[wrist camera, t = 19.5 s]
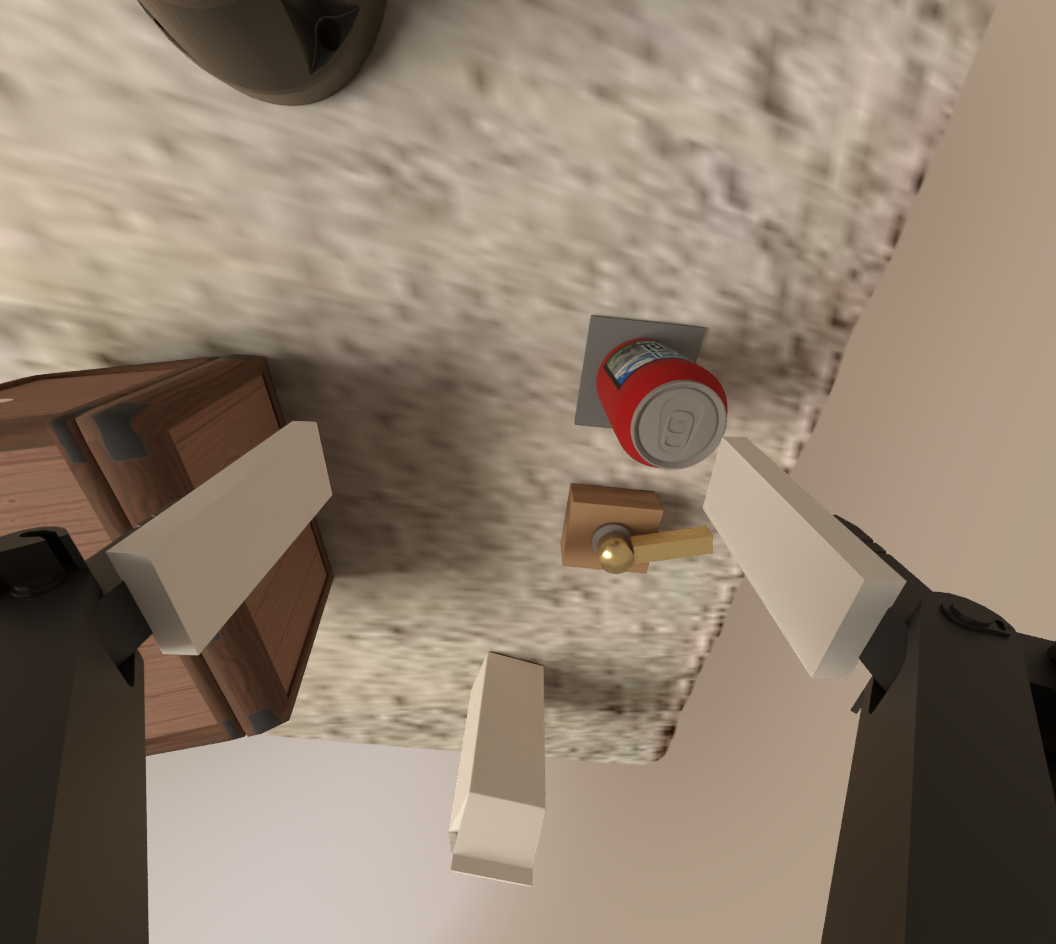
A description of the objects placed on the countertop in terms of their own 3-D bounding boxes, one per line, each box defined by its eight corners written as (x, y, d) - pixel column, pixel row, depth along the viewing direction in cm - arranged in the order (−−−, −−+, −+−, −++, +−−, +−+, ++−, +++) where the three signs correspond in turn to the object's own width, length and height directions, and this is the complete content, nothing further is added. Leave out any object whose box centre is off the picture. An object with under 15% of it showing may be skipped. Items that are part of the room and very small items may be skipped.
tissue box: (341, 557, 49) (273, 781, 27) (61, 602, 44) (-289, 916, 22) (278, 345, 38) (85, 436, 17) (-99, 373, 33) (-1047, 552, 12)
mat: (590, 315, 33) (591, 316, 33) (703, 327, 33) (704, 328, 33) (574, 423, 37) (574, 424, 37) (674, 433, 37) (676, 434, 37)
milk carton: (487, 650, 50) (461, 850, 33) (544, 665, 51) (546, 867, 33) (471, 687, 53) (439, 889, 36) (524, 701, 54) (518, 903, 36)
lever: (704, 518, 36) (714, 533, 34) (704, 545, 37) (714, 560, 35) (595, 534, 37) (598, 549, 35) (598, 559, 38) (602, 575, 36)
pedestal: (570, 483, 40) (573, 504, 36) (653, 491, 40) (665, 513, 36) (560, 543, 43) (562, 569, 39) (638, 551, 43) (647, 577, 39)
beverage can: (686, 341, 33) (757, 375, 23) (665, 421, 36) (719, 485, 25) (602, 331, 33) (633, 361, 22) (588, 413, 36) (609, 474, 25)
